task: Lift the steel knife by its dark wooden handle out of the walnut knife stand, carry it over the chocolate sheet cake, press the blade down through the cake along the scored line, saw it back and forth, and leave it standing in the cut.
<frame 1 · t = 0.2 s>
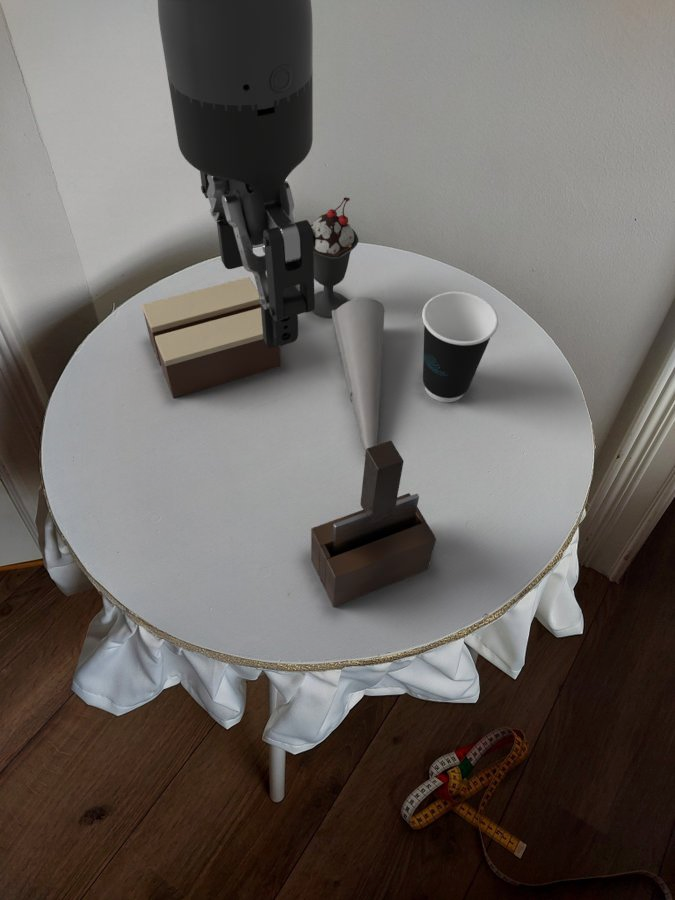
hand: (258, 301, 50), 28 cm above the table, tool pointing down, fingers open, 8 cm apart
sundae: (328, 305, 92), on the table
knife: (376, 516, 63), in the knife stand
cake: (215, 354, 86), on the table
long tapered cone: (371, 389, 84), on the table
dixie cup: (444, 387, 84), on the table
knife stand: (369, 564, 70), on the table
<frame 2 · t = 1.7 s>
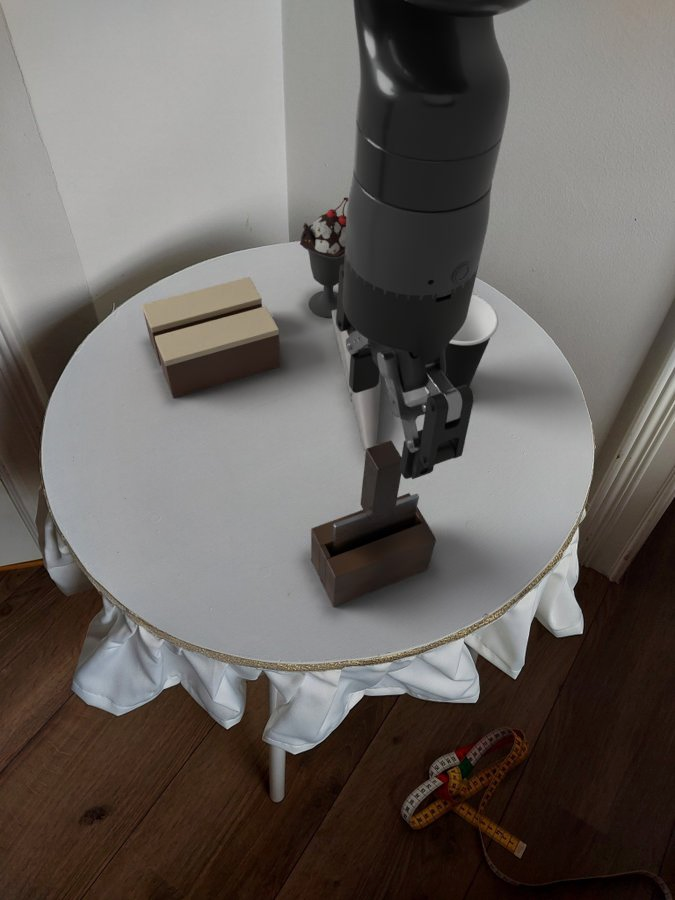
hand: (388, 427, 53), 21 cm above the table, tool pointing down, fingers open, 8 cm apart
nothing on the table moved.
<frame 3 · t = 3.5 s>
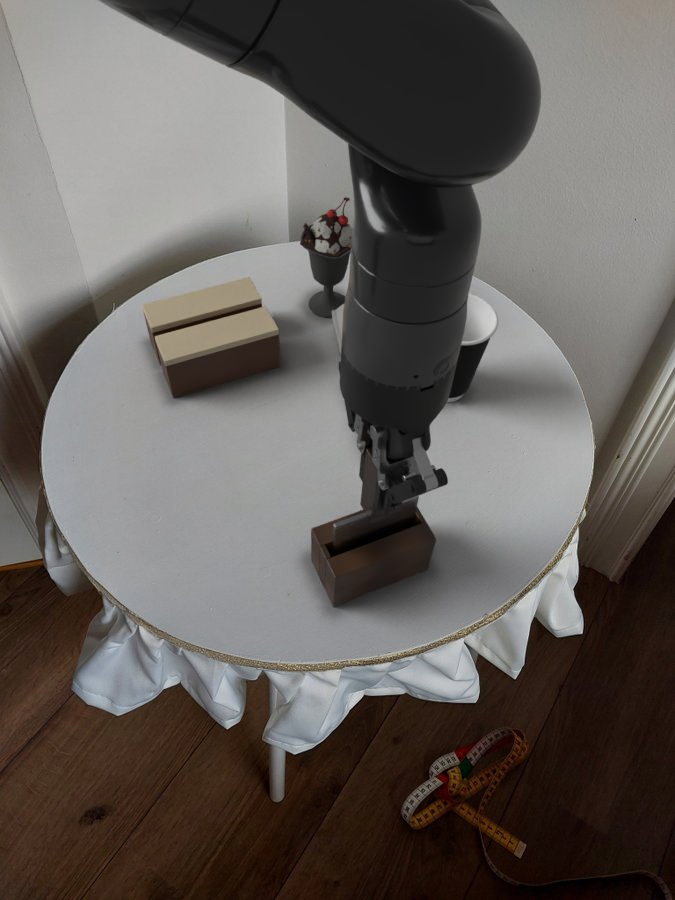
hand: (379, 490, 60), 13 cm above the table, tool pointing down, fingers closed on knife, 2 cm apart
knife: (376, 516, 63), in the knife stand, touching gripper
everything else where it was.
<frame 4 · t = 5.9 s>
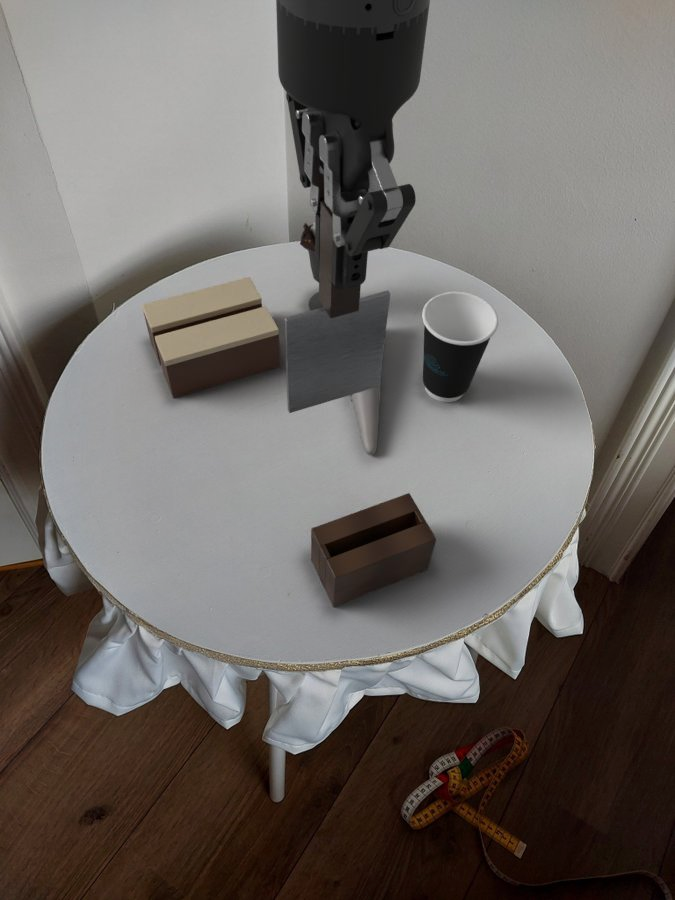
hand: (339, 270, 49), 31 cm above the table, tool pointing down, fingers closed on knife
knife: (338, 315, 52), point 27 cm above the table, touching gripper
everything else where it was.
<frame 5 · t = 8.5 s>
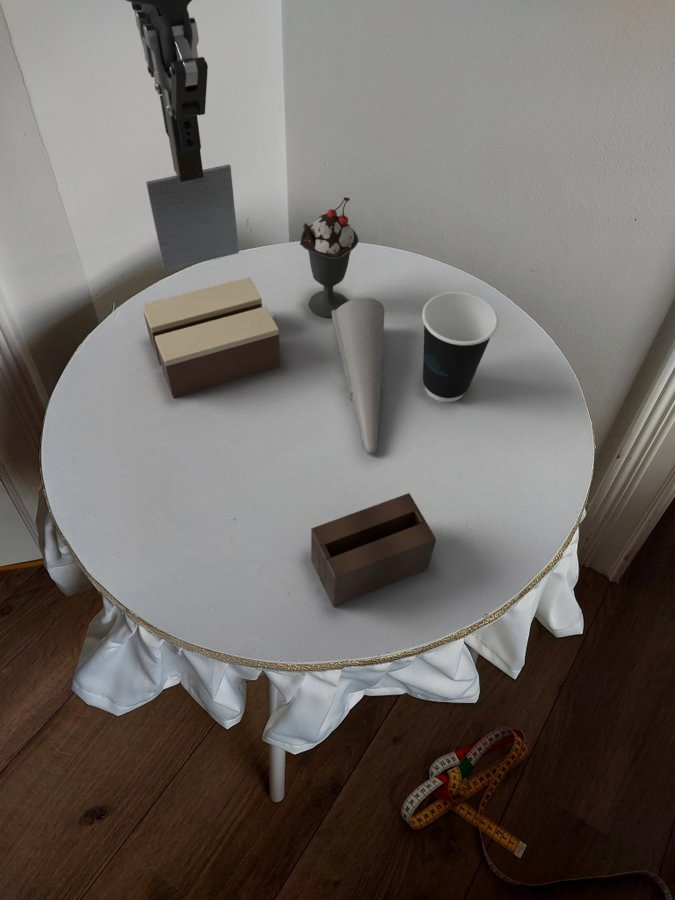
hand: (183, 143, 65), 27 cm above the table, tool pointing down, fingers closed on knife
knife: (190, 183, 68), point 23 cm above the table, touching gripper
everything else where it was.
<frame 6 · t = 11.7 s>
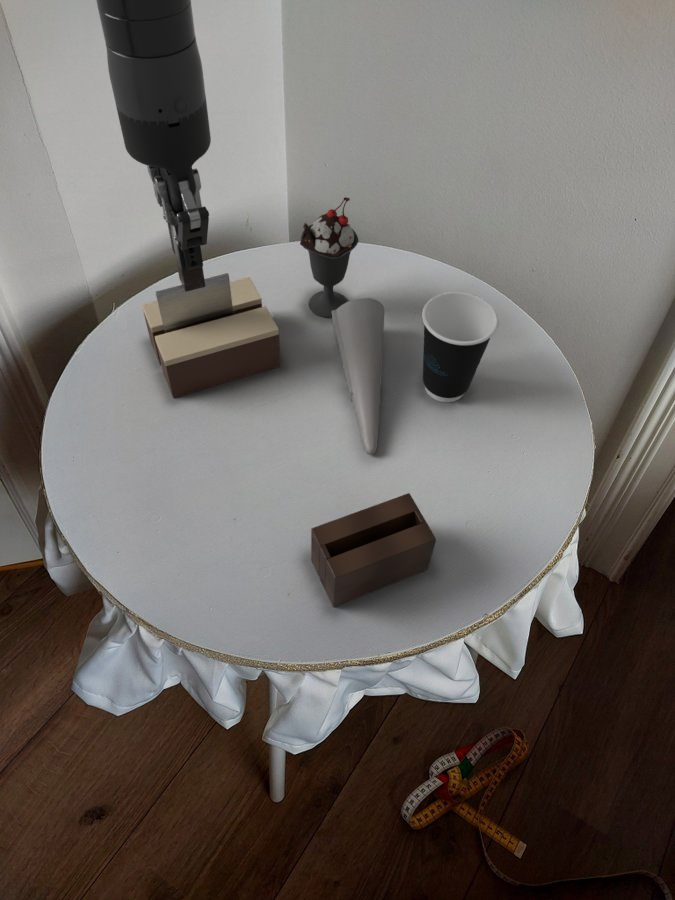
hand: (188, 260, 75), 14 cm above the table, tool pointing down, fingers closed on knife, 2 cm apart
knife: (193, 290, 78), point 10 cm above the table, touching gripper
everything else where it was.
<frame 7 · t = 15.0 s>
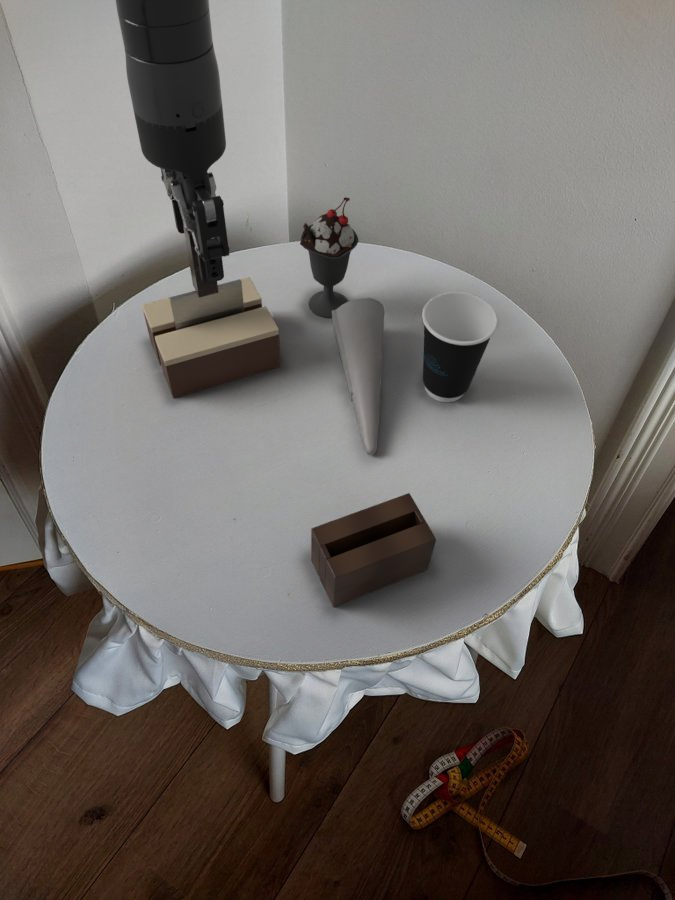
hand: (200, 254, 75), 15 cm above the table, tool pointing down, fingers open, 8 cm apart
knife: (206, 296, 79), resting in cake
everything else where it was.
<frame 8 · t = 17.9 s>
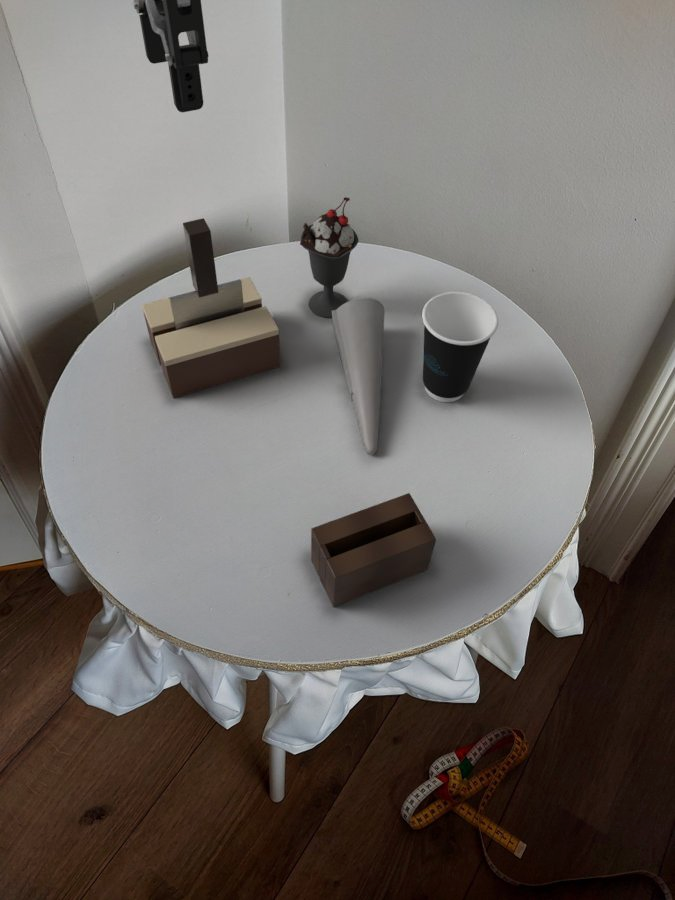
hand: (174, 83, 61), 32 cm above the table, tool pointing down, fingers open, 8 cm apart
nothing on the table moved.
at the end: knife inside the target area on the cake (0.1 cm from its centre), point 9.0 cm above the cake's base; the gripper is holding nothing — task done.
